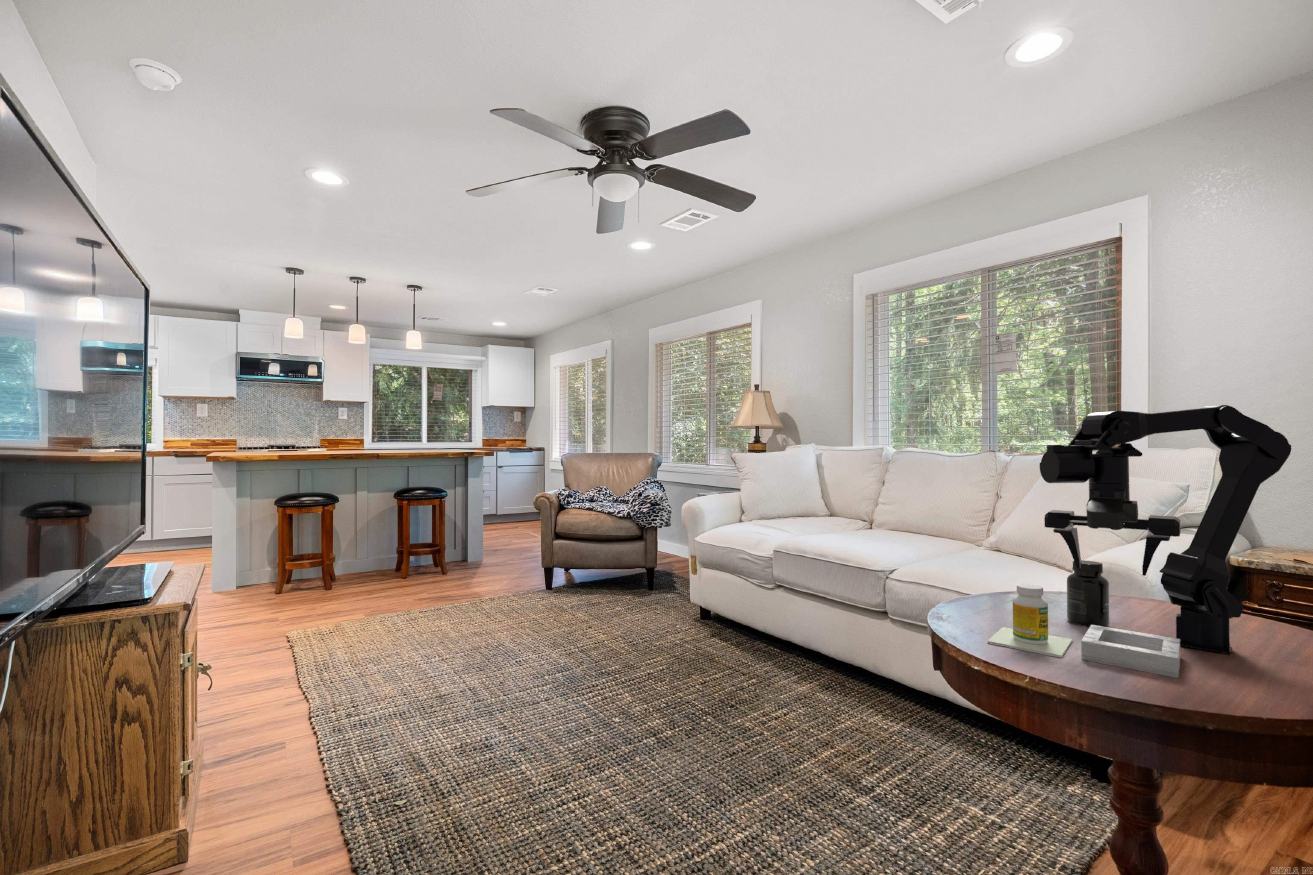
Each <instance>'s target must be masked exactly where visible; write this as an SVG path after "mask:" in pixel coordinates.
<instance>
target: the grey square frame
mask: <svg viewBox="0 0 1313 875" xmlns="http://www.w3.org/2000/svg"><path fill="white" fill-rule="evenodd" d="M1080 642H1081V647H1080V648H1081V651H1080V652H1081V658H1080V659H1081V660H1084V661H1090V662H1093V663H1100V664H1104V665H1110V666H1115V667H1119V668H1124V669H1128V670H1133V671H1134V670H1135V671H1140V672H1145V673H1150V674H1155V675H1160V676H1165V677H1169V678H1175V679H1179V677H1180V676H1179V674H1180V668H1181V667H1180V666H1181V665H1180V664H1181V646H1180V639H1177V638H1175V637H1170V636H1164V635H1163V636H1162V635H1157V634H1151V633H1146V632H1138V631H1133V630H1127V629H1121V628H1115V627H1110V626H1109V627H1108V626H1107V627H1103V626H1097V625H1091V626H1090V627H1088V629H1087V631H1086V632H1085V634H1084V636H1083V637H1082V639H1081V641H1080Z"/></svg>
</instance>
